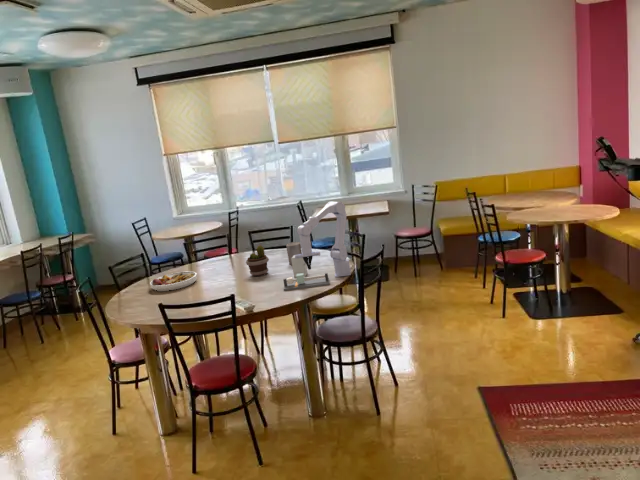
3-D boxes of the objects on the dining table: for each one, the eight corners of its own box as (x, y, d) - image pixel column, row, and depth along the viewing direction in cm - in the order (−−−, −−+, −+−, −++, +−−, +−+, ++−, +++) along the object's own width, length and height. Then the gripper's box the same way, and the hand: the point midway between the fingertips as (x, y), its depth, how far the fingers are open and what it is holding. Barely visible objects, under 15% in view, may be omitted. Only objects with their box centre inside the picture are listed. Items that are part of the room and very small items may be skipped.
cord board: (329, 279, 301) (327, 270, 299) (329, 284, 291) (327, 275, 290) (285, 285, 302) (283, 276, 301) (283, 290, 292) (282, 281, 291)
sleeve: (304, 280, 298) (303, 273, 297) (304, 282, 294) (303, 275, 293) (297, 281, 298) (296, 273, 297) (297, 283, 294) (296, 275, 293)
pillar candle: (295, 260, 357) (291, 239, 354) (306, 261, 351) (302, 240, 348) (286, 264, 350) (282, 243, 346) (297, 265, 344) (293, 243, 341)
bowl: (183, 276, 360) (181, 265, 358) (206, 281, 338) (204, 269, 337) (143, 289, 340) (141, 278, 338) (165, 295, 318) (162, 283, 317)
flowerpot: (252, 279, 325) (247, 249, 321) (245, 274, 339) (240, 245, 335) (274, 274, 331) (269, 244, 326) (266, 269, 344) (261, 240, 340)
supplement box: (305, 276, 314) (302, 257, 311) (293, 277, 315) (290, 258, 313) (308, 273, 321) (305, 253, 318) (296, 274, 322) (293, 254, 320)
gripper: (293, 249, 288) (296, 272, 291) (318, 246, 287) (322, 269, 290) (293, 246, 295) (297, 269, 297) (318, 243, 294) (322, 265, 297)
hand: (309, 269), depth 294 cm, fingers closed
